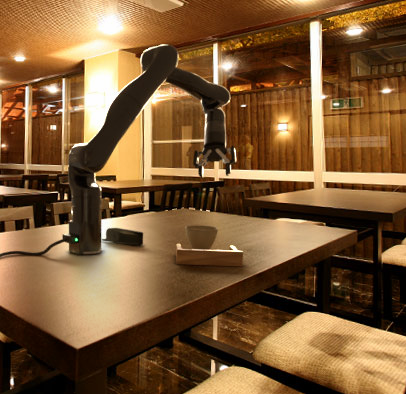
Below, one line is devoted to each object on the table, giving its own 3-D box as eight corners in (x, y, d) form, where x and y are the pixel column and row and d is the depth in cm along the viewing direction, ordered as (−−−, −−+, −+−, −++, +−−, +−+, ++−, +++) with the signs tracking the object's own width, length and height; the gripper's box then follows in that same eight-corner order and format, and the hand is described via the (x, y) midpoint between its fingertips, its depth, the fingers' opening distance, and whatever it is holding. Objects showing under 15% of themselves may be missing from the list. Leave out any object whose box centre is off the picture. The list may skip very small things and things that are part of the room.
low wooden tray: (242, 266, 105) (243, 251, 105) (176, 264, 108) (176, 249, 107) (234, 257, 115) (235, 243, 115) (174, 255, 118) (174, 242, 117)
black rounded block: (144, 230, 132) (105, 225, 140) (140, 232, 129) (101, 227, 137) (143, 245, 132) (105, 239, 140) (140, 247, 130) (100, 241, 138)
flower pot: (218, 254, 120) (219, 230, 119) (185, 252, 122) (185, 229, 121) (215, 247, 129) (216, 225, 129) (184, 245, 131) (184, 224, 131)
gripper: (192, 133, 142) (190, 172, 136) (233, 127, 136) (234, 168, 130) (197, 144, 148) (195, 182, 142) (237, 139, 142) (237, 179, 136)
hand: (214, 175), depth 136 cm, fingers open, 8 cm apart
